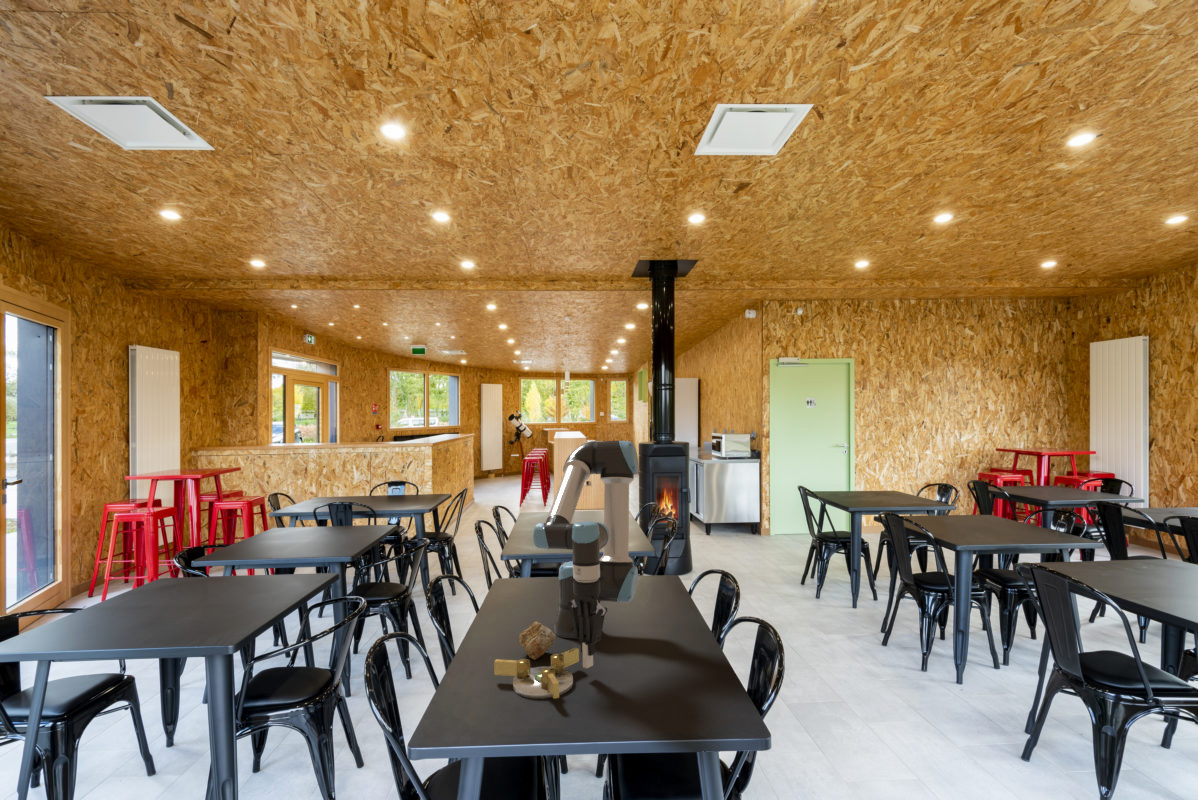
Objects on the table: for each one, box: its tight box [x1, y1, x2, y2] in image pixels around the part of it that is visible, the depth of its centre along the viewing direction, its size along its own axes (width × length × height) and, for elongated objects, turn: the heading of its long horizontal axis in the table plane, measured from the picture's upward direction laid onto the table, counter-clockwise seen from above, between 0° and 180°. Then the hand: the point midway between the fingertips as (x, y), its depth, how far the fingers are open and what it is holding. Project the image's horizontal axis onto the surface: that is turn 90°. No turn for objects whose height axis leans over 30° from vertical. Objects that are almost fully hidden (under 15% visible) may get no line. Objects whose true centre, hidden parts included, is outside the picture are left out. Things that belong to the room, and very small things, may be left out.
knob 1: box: [493, 658, 531, 679], centre depth 156 cm, size 10×4×4 cm, turn 80°
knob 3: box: [550, 647, 580, 674], centre depth 161 cm, size 10×4×4 cm, turn 140°
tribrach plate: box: [512, 665, 574, 700], centre depth 154 cm, size 16×16×3 cm
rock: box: [518, 621, 557, 661], centre depth 174 cm, size 12×10×10 cm
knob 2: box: [541, 668, 560, 700], centre depth 146 cm, size 10×4×4 cm, turn 20°
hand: (588, 666), depth 158 cm, fingers closed
